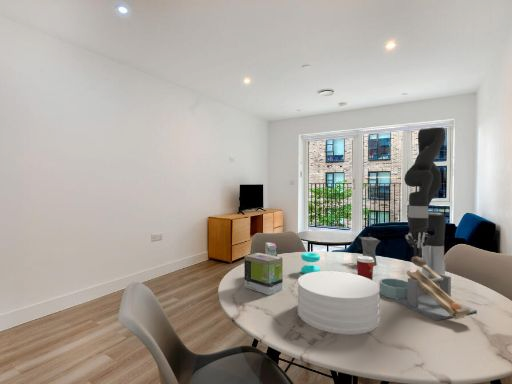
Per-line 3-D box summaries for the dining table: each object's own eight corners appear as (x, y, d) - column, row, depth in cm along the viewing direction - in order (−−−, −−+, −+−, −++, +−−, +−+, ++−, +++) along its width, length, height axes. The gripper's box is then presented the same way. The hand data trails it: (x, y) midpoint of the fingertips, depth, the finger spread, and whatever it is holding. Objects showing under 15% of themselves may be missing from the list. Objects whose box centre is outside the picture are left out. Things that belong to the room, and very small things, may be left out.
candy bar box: (277, 279, 138) (277, 246, 138) (267, 279, 137) (267, 246, 137) (274, 272, 149) (274, 241, 149) (264, 272, 148) (264, 242, 148)
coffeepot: (383, 264, 165) (383, 234, 165) (376, 267, 158) (376, 236, 158) (358, 259, 176) (358, 231, 176) (351, 262, 169) (351, 233, 169)
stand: (396, 301, 111) (396, 275, 111) (433, 295, 117) (434, 270, 117) (436, 320, 95) (436, 290, 95) (476, 312, 101) (477, 284, 101)
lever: (390, 261, 118) (392, 254, 117) (417, 258, 123) (421, 251, 121) (453, 320, 92) (458, 312, 91) (485, 313, 97) (490, 305, 96)
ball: (453, 305, 97) (458, 300, 95) (460, 313, 94) (465, 307, 93) (447, 306, 96) (451, 301, 94) (454, 314, 93) (459, 309, 92)
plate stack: (293, 298, 114) (294, 270, 114) (362, 299, 113) (362, 271, 113) (303, 334, 86) (303, 297, 86) (394, 335, 85) (394, 298, 85)
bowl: (395, 287, 127) (395, 277, 127) (418, 297, 115) (418, 286, 115) (373, 290, 123) (373, 280, 123) (395, 301, 111) (395, 289, 111)
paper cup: (375, 292, 121) (376, 260, 121) (357, 290, 122) (357, 259, 122) (372, 285, 128) (372, 255, 128) (354, 284, 130) (354, 255, 130)
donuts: (297, 253, 149) (310, 251, 155) (297, 272, 149) (310, 269, 155) (310, 257, 141) (324, 254, 147) (310, 277, 141) (324, 273, 147)
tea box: (283, 289, 123) (283, 256, 123) (268, 296, 116) (268, 261, 116) (258, 282, 134) (258, 251, 133) (243, 287, 126) (243, 255, 126)
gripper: (422, 215, 125) (421, 253, 125) (399, 215, 121) (398, 255, 121) (437, 216, 118) (436, 257, 118) (413, 217, 114) (413, 259, 114)
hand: (417, 256), depth 120 cm, fingers closed
